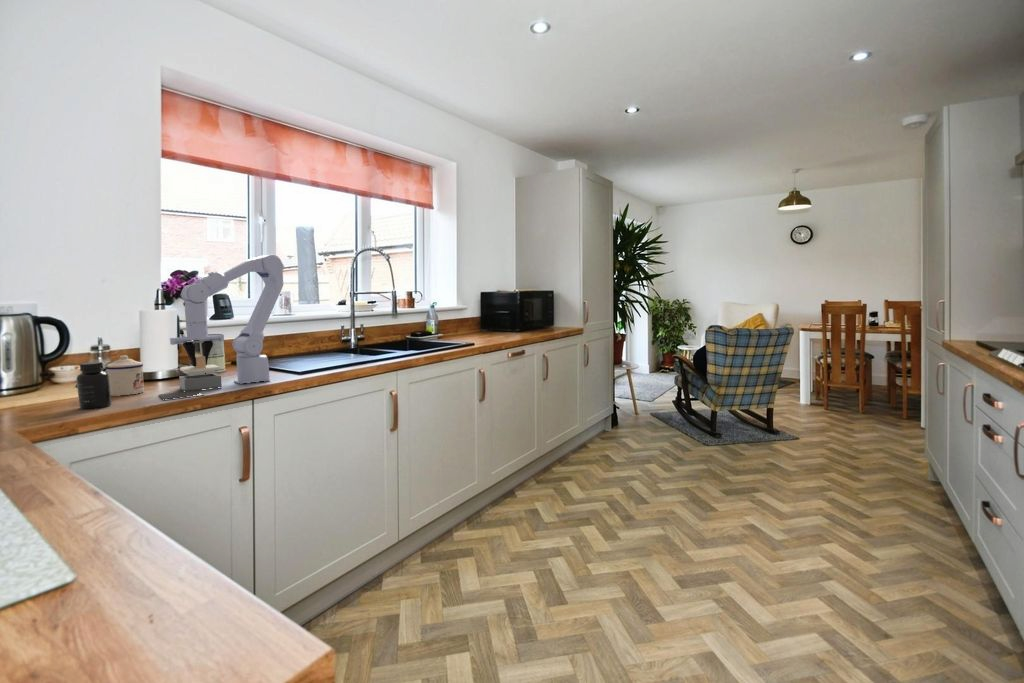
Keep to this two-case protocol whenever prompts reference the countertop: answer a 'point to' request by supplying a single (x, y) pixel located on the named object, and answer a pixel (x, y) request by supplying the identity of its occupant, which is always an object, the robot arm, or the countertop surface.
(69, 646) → the countertop surface
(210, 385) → the box
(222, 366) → the coffee can
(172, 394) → the mat
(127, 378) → the ceramic lidded jar
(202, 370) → the lid
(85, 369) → the supplement bottle
